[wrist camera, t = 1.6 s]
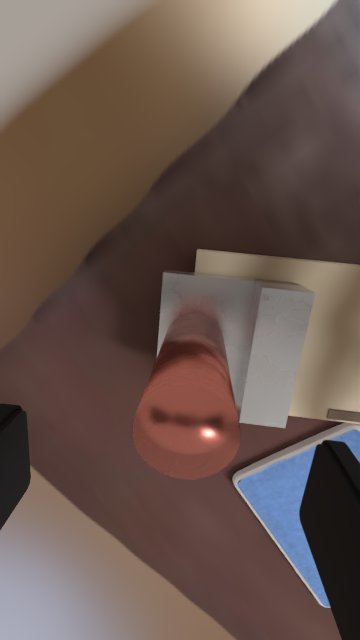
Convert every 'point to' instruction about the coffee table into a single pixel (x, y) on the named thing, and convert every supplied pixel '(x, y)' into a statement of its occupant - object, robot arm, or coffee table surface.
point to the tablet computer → (290, 498)
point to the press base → (312, 328)
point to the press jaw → (219, 368)
